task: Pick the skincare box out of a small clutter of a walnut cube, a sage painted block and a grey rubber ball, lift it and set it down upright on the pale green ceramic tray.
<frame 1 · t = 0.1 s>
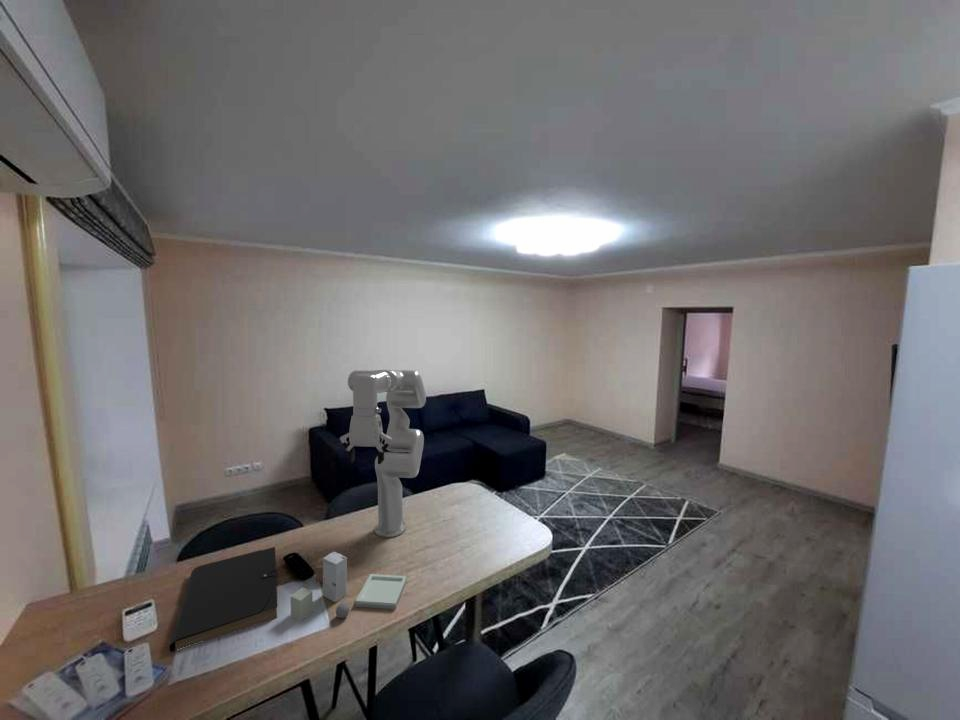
hand: (366, 462, 125), 37 cm above the table, tool pointing down, fingers open, 9 cm apart
file folder: (232, 597, 115), on the table
sage block: (302, 613, 108), on the table
grey ball: (342, 616, 107), on the table
skincare box: (335, 595, 115), on the table
tray: (382, 593, 116), on the table
walnut cube: (326, 576, 124), on the table
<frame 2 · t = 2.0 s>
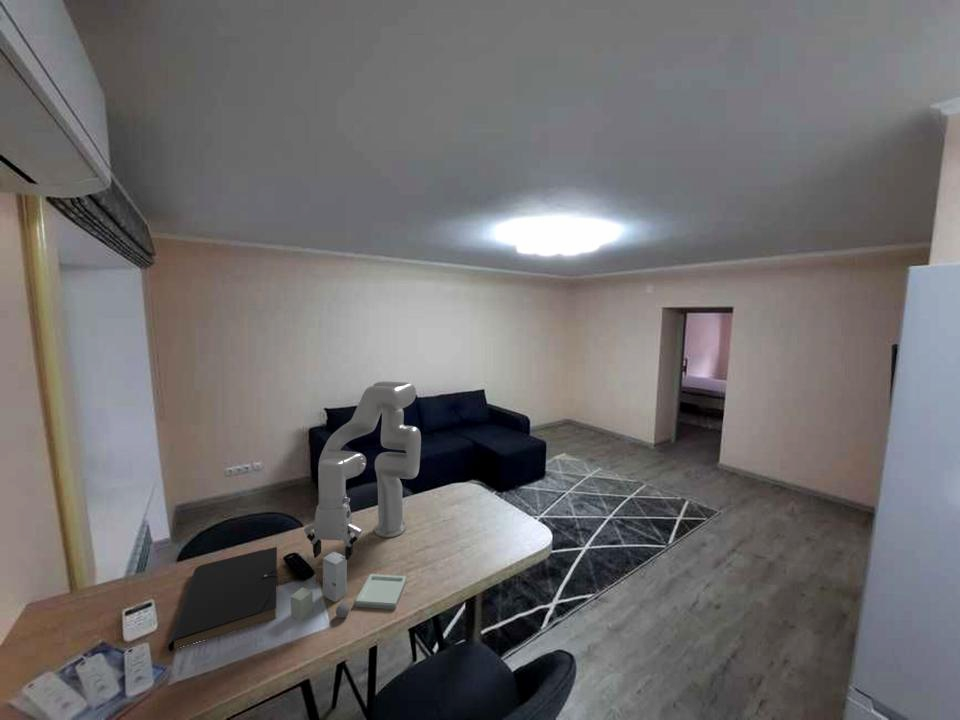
hand: (333, 556, 113), 13 cm above the table, tool pointing down, fingers open, 9 cm apart
nothing on the table moved.
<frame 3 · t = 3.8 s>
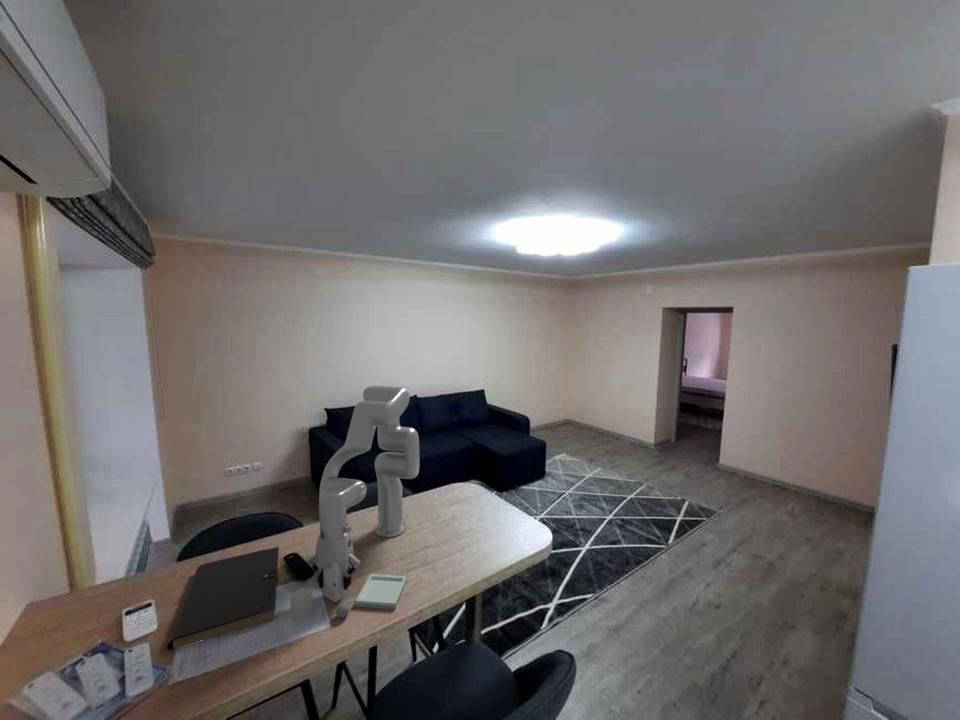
hand: (335, 585, 115), 3 cm above the table, tool pointing down, fingers closed on skincare box, 7 cm apart
skincare box: (335, 595, 115), on the table, touching gripper
everything else where it was.
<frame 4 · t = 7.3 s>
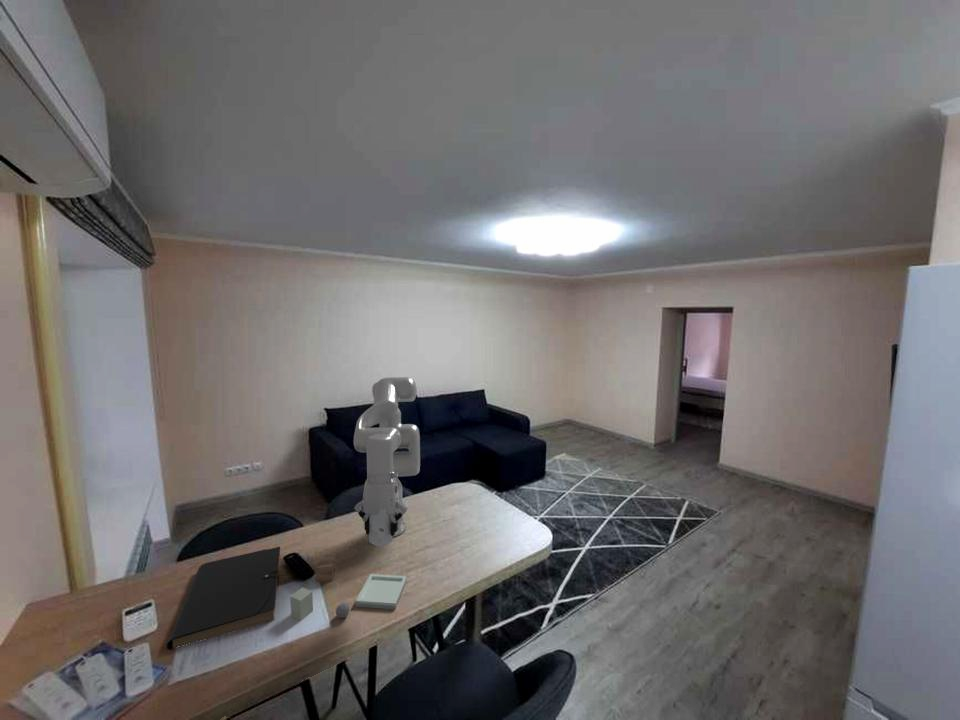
hand: (381, 532, 114), 20 cm above the table, tool pointing down, fingers closed on skincare box, 7 cm apart
skincare box: (381, 542, 115), point 16 cm above the table, touching gripper
everything else where it was.
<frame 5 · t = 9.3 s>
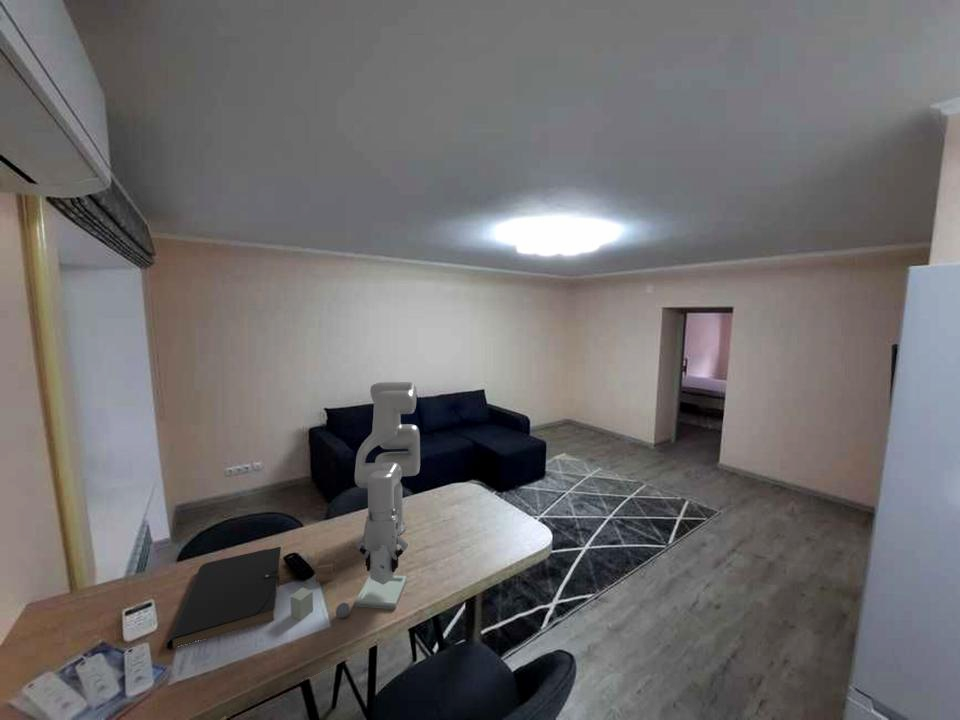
hand: (382, 568, 115), 8 cm above the table, tool pointing down, fingers closed on skincare box, 7 cm apart
skincare box: (382, 578, 115), point 5 cm above the table, touching gripper
when the fingers open (5 cm above the table, at t = 11.0 s): skincare box moves 1 cm, resting on tray.
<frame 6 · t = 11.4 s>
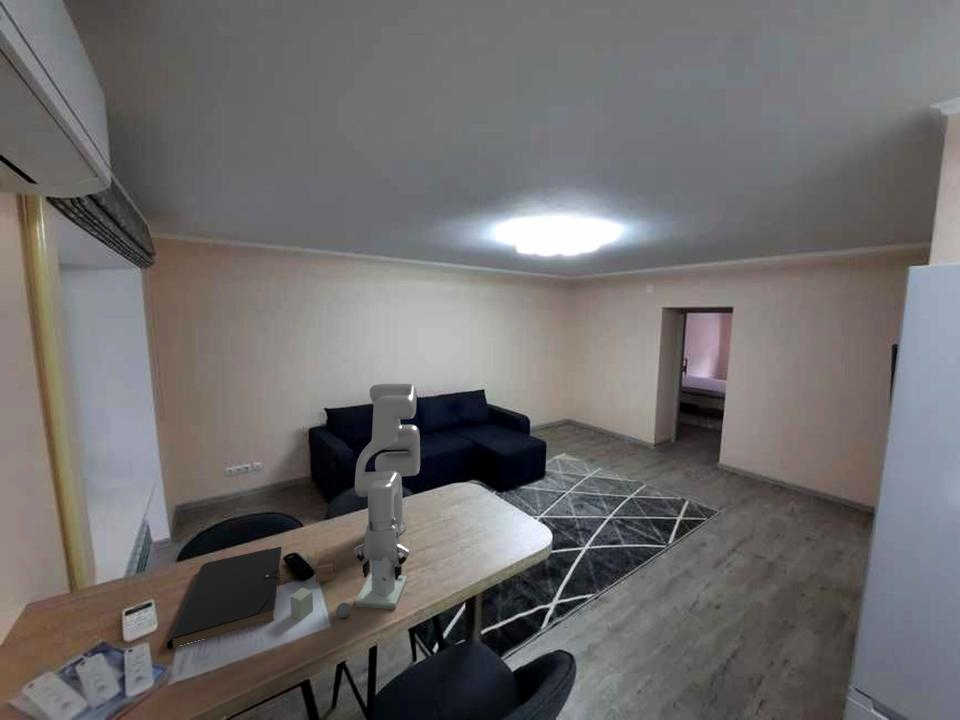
hand: (382, 575, 116), 6 cm above the table, tool pointing down, fingers open, 9 cm apart
skincare box: (383, 590, 116), point 1 cm above the table, touching tray
everything else where it was.
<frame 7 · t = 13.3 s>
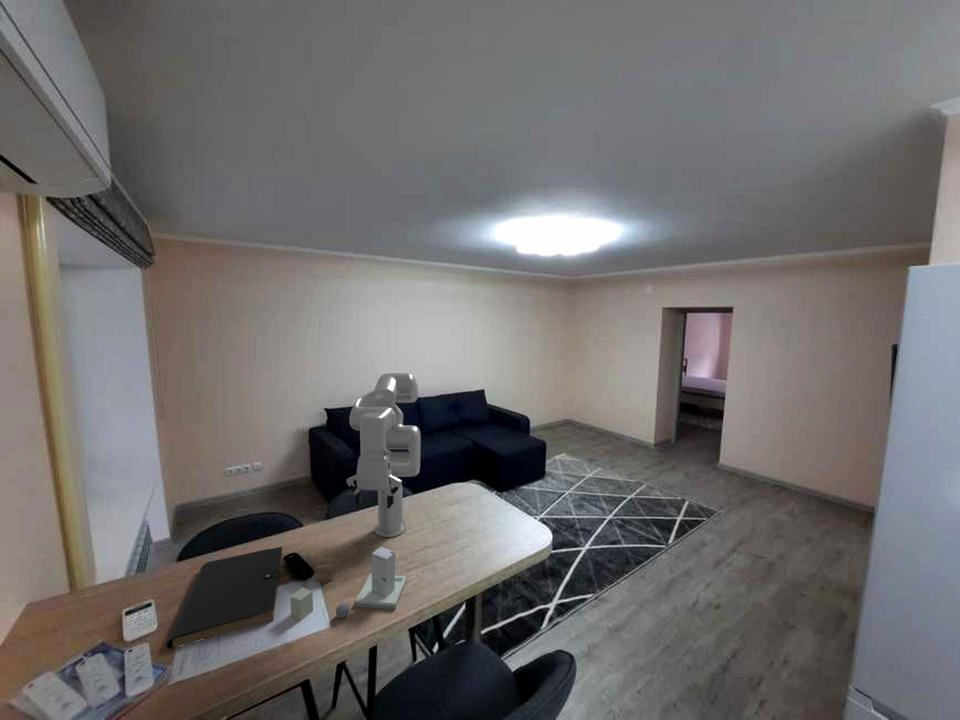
hand: (374, 505, 119), 26 cm above the table, tool pointing down, fingers open, 9 cm apart
nothing on the table moved.
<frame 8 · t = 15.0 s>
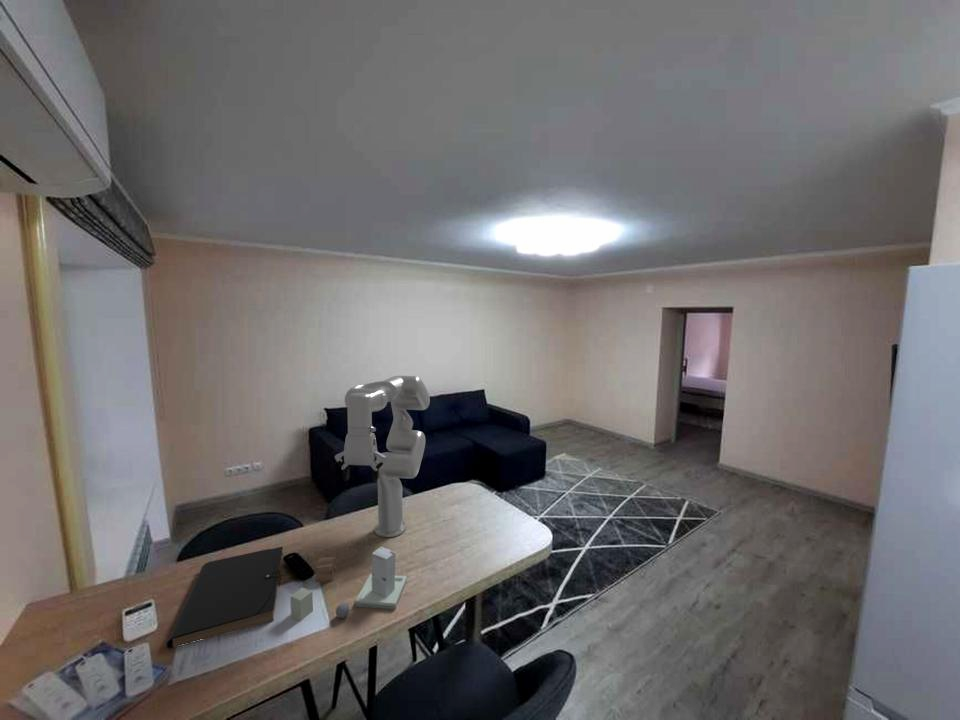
hand: (361, 480, 126), 30 cm above the table, tool pointing down, fingers open, 9 cm apart
nothing on the table moved.
at the end: skincare box inside the target area on the tray (0.4 cm from its centre), point 0.8 cm above the tray's base; skincare box tilted 0°; the gripper is holding nothing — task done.
